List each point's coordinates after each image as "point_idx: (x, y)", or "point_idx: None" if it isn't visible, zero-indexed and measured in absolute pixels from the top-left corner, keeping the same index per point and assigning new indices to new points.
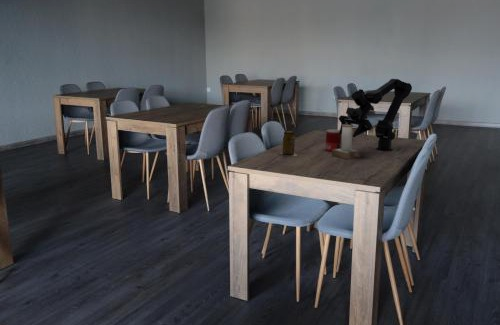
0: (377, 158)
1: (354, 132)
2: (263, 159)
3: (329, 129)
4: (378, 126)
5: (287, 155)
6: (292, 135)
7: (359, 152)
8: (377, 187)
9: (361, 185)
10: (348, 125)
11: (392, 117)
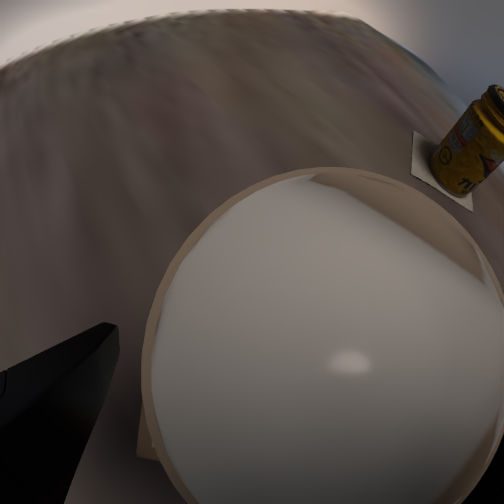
0: None
1: (82, 358)
2: (401, 77)
3: None
4: None
5: (428, 150)
6: (486, 103)
7: (139, 446)
8: None
9: (11, 59)
10: (255, 255)
11: None
